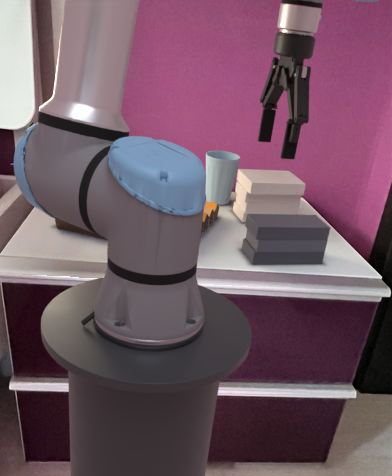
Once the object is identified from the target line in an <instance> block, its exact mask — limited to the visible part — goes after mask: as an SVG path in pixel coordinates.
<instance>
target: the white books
mask: <svg viewBox="0 0 392 476" xmlns="http://www.w3.org/2000/svg"><path fill="white" fill-rule="evenodd" d="M234 192H235V193H236V197H235V201H233V208H232V212H233V213H234V214H235V216H236V217H237V218H238V219H239V221H240V222H242V223H245V222H246V216H247V214H292V215H299V210H300V205H301V198H302V195H267V194H250V193H249V192H248V191H247V190H246V189H245V188H244V187H243V186H242V185H241V184H240V183H239V182H238V181H236V183H235V191H234Z"/></svg>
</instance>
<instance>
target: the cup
mask: <svg viewBox="0 0 392 476" xmlns="http://www.w3.org/2000/svg"><path fill="white" fill-rule="evenodd" d="M240 162H241V156H240V155H239V154H237V153H234V152H230V151H226V150H208V151H206V152H205V171H206V201H207V202H212V203H217V204H218V206H223V205H228V204H229V203H230V200H231V196H232V193H233V190H234V189H233V188H234V184H235V181H236V178H237V174H238V169H239V165H240Z"/></svg>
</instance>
